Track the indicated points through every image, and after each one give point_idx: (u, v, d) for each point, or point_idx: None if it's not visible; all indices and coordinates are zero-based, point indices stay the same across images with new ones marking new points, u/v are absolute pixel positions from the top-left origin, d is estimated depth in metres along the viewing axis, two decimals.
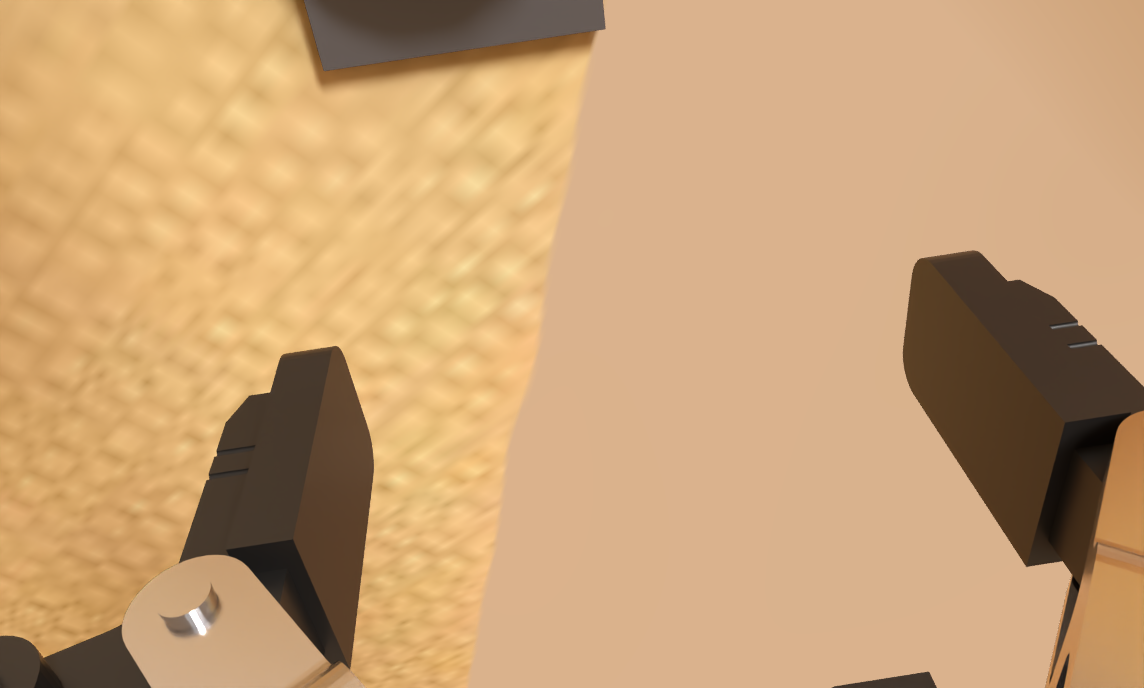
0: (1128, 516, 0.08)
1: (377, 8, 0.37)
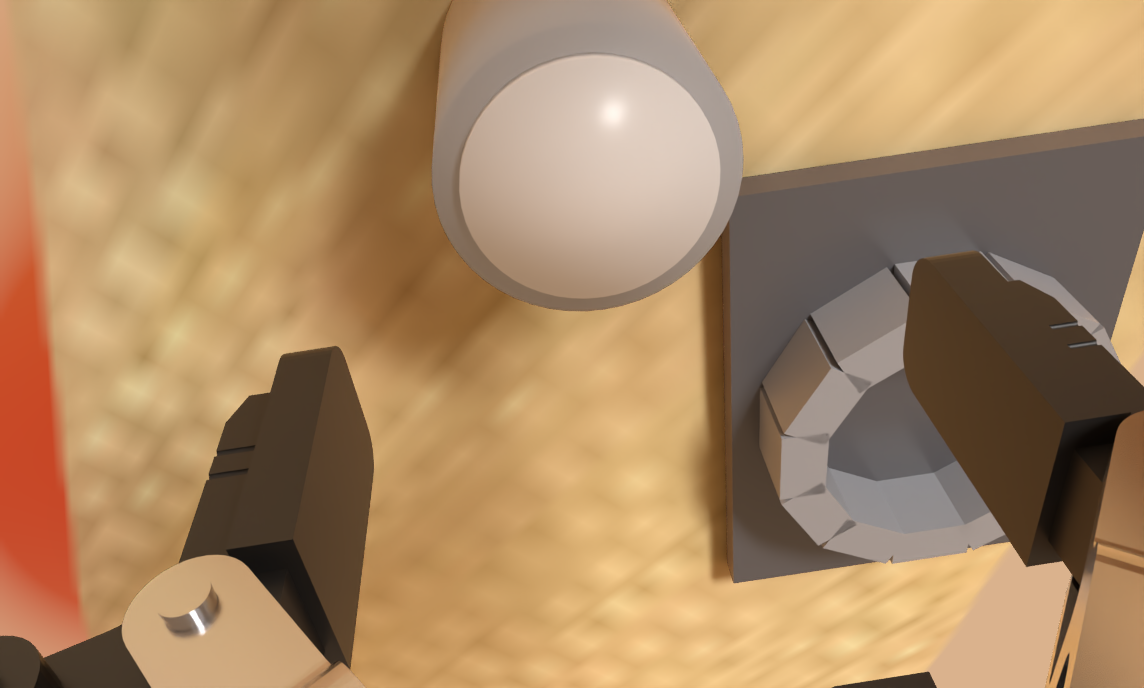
0: (1128, 516, 0.08)
1: None
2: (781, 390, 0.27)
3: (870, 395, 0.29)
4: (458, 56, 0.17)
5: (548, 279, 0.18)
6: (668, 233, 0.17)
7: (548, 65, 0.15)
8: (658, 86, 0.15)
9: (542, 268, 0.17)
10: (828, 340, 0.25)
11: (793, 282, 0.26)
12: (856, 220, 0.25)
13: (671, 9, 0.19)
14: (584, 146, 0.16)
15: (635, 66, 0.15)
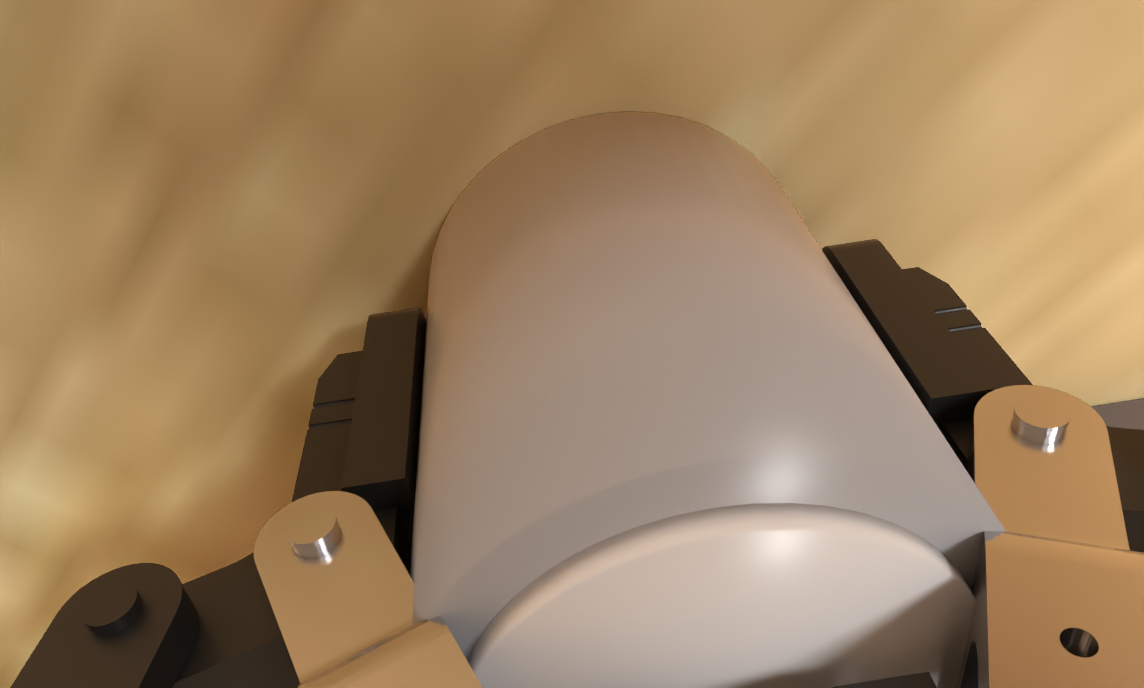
0: (1001, 495, 0.08)
1: None
2: None
3: None
4: (457, 424, 0.09)
5: None
6: None
7: (656, 545, 0.07)
8: (892, 568, 0.07)
9: None
10: None
11: None
12: None
13: (831, 265, 0.11)
14: (723, 664, 0.08)
15: (849, 540, 0.07)
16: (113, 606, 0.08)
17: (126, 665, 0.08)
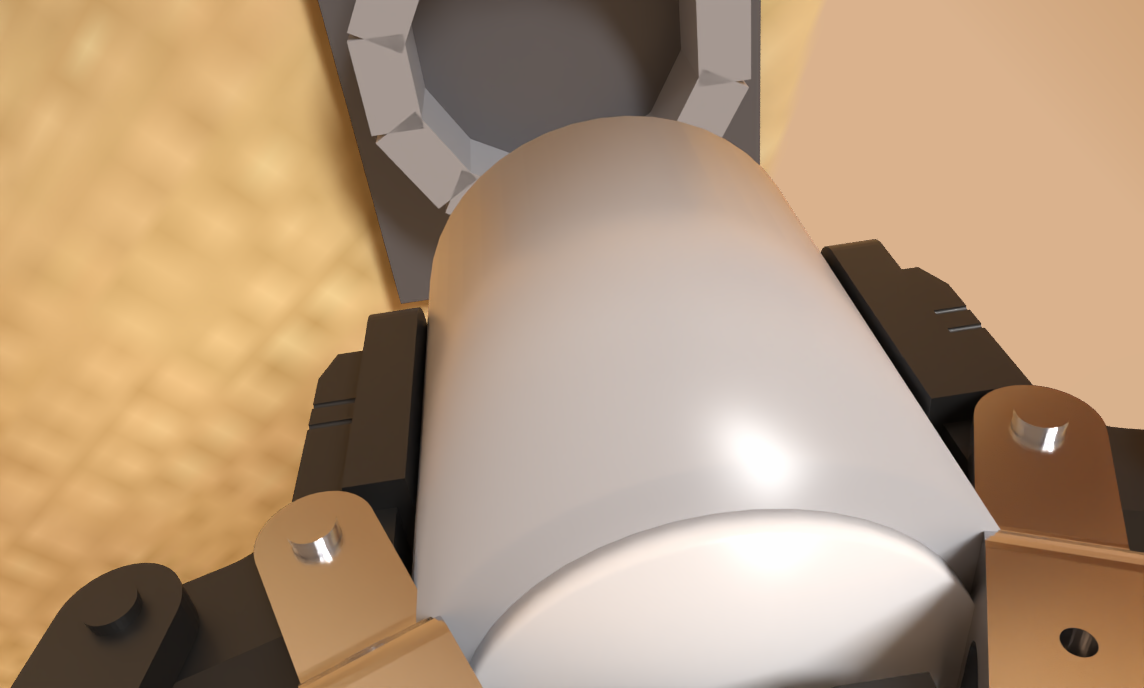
0: (1000, 495, 0.08)
1: None
2: None
3: (492, 32, 0.25)
4: (458, 429, 0.09)
5: None
6: None
7: (657, 551, 0.07)
8: (891, 573, 0.07)
9: None
10: None
11: None
12: None
13: (830, 270, 0.11)
14: (723, 668, 0.08)
15: (848, 545, 0.07)
16: (113, 606, 0.08)
17: (127, 665, 0.08)
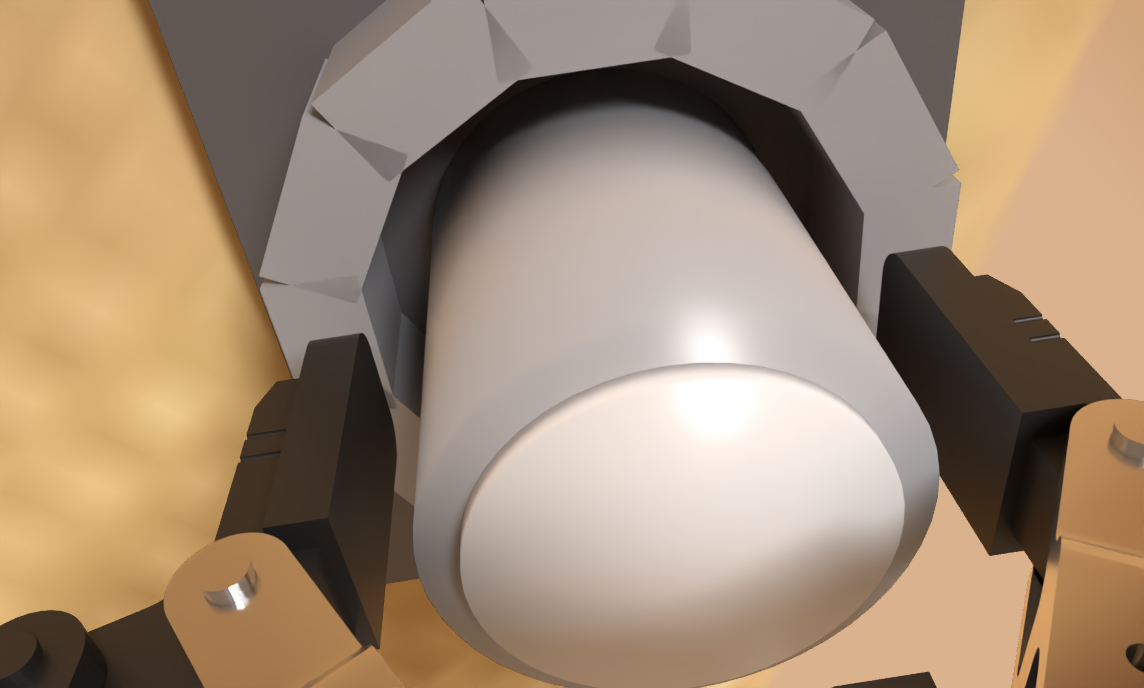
0: (1087, 508, 0.08)
1: None
2: None
3: None
4: (458, 319, 0.10)
5: (606, 670, 0.11)
6: (806, 607, 0.10)
7: (619, 393, 0.08)
8: (813, 417, 0.09)
9: (597, 659, 0.11)
10: (325, 74, 0.12)
11: None
12: None
13: (785, 199, 0.13)
14: (678, 504, 0.09)
15: (776, 390, 0.08)
16: (11, 656, 0.08)
17: None
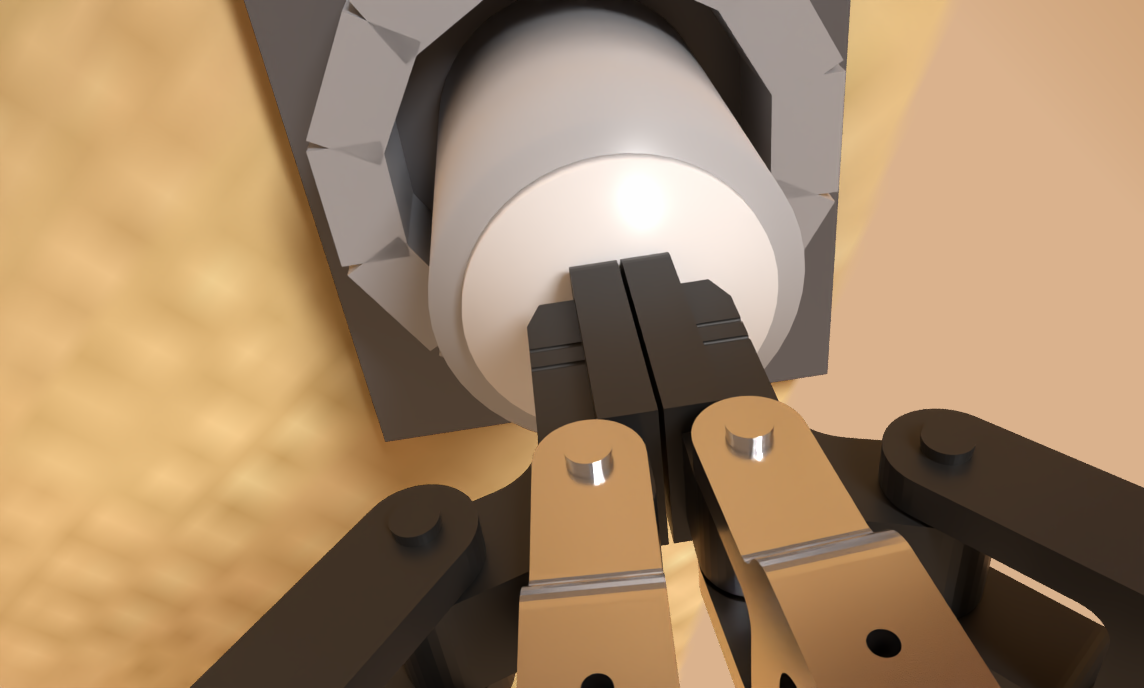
0: (749, 517, 0.08)
1: None
2: None
3: None
4: (460, 147, 0.14)
5: None
6: None
7: (571, 170, 0.12)
8: (706, 193, 0.13)
9: None
10: None
11: None
12: None
13: (709, 80, 0.17)
14: None
15: (678, 170, 0.12)
16: (417, 521, 0.09)
17: (444, 574, 0.08)
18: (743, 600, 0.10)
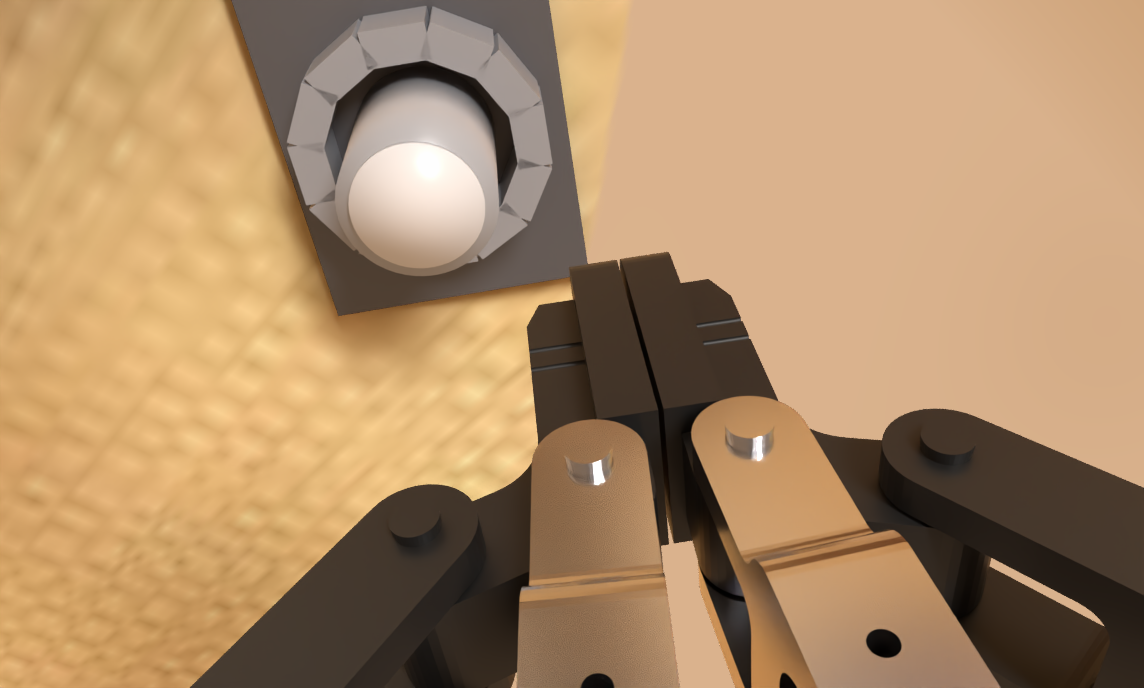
0: (749, 517, 0.08)
1: None
2: None
3: None
4: (350, 142, 0.33)
5: (401, 257, 0.33)
6: (462, 231, 0.33)
7: (387, 148, 0.31)
8: (444, 157, 0.31)
9: (397, 251, 0.33)
10: (309, 68, 0.35)
11: (291, 31, 0.35)
12: None
13: (475, 110, 0.35)
14: (411, 187, 0.32)
15: (430, 147, 0.31)
16: (416, 521, 0.09)
17: (445, 574, 0.08)
18: (743, 600, 0.10)
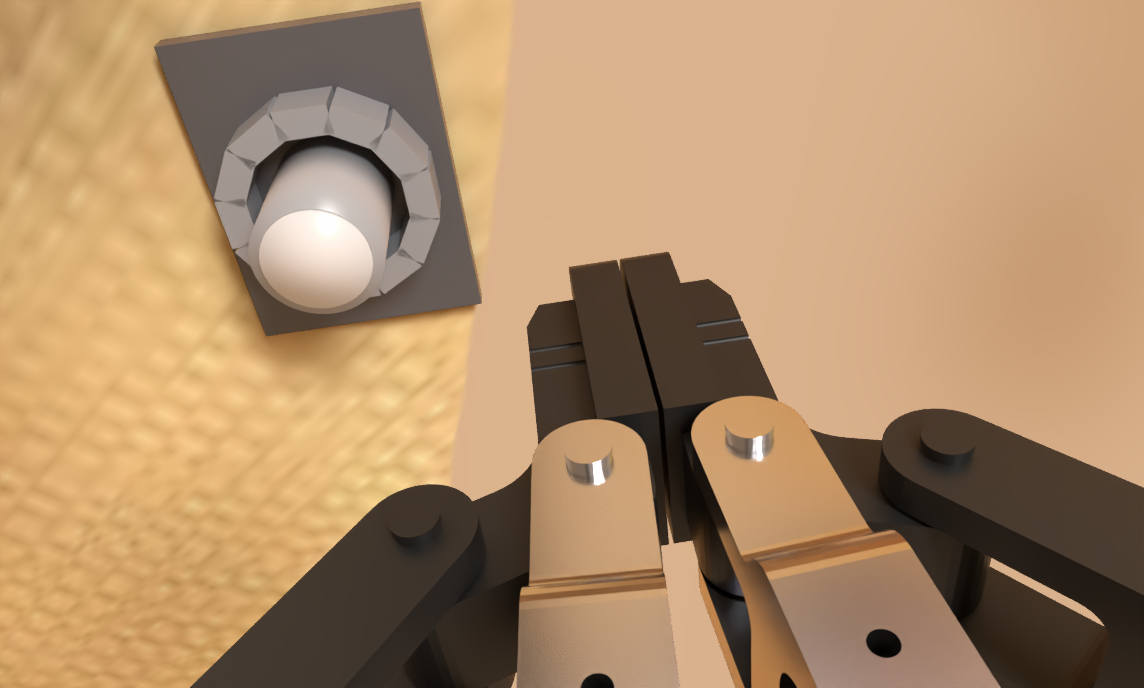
0: (749, 517, 0.08)
1: None
2: None
3: None
4: (263, 204, 0.40)
5: (305, 300, 0.40)
6: (354, 280, 0.40)
7: (289, 214, 0.38)
8: (336, 222, 0.38)
9: (301, 295, 0.40)
10: (232, 138, 0.42)
11: (218, 105, 0.42)
12: (241, 63, 0.41)
13: (372, 175, 0.42)
14: (310, 245, 0.39)
15: (325, 214, 0.38)
16: (416, 522, 0.09)
17: (444, 574, 0.08)
18: (743, 600, 0.10)
